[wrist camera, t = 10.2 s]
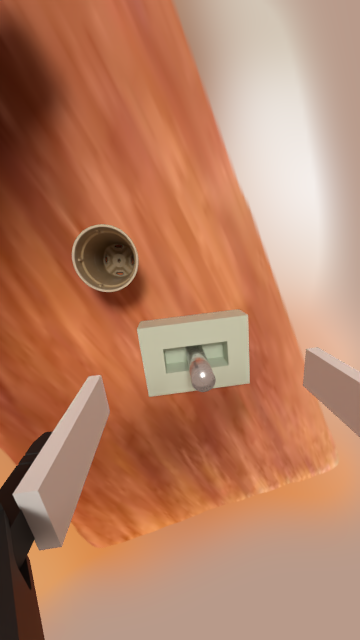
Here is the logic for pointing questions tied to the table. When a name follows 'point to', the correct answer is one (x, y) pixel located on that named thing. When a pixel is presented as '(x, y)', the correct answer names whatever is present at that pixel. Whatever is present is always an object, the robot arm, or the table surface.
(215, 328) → the slot block
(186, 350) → the pin
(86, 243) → the flower pot
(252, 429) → the table surface
